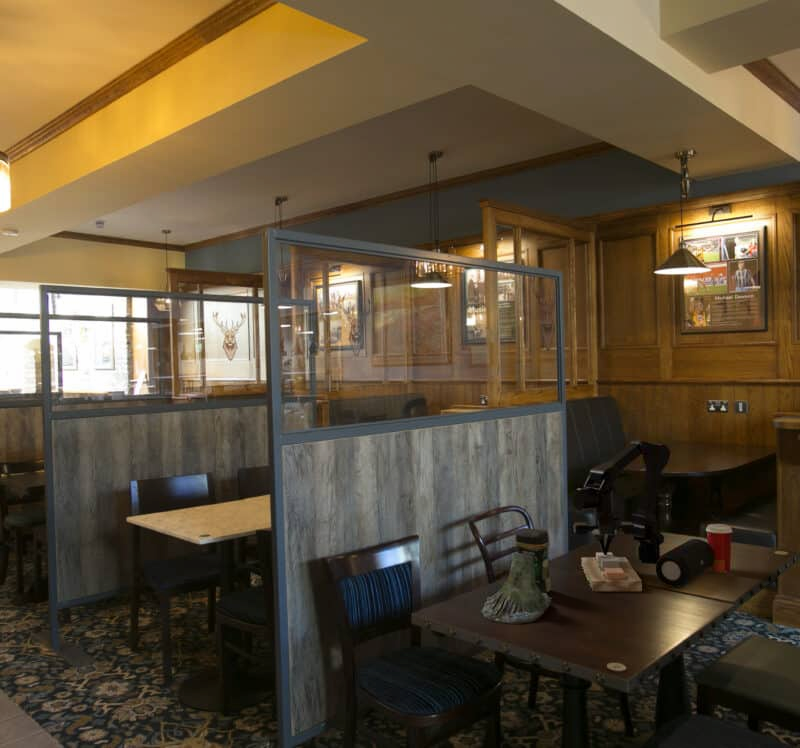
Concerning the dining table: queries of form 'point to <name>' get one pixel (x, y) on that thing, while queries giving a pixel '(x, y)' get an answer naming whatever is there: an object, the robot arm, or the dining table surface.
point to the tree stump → (518, 595)
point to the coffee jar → (536, 554)
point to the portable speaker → (684, 562)
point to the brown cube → (614, 574)
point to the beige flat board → (600, 584)
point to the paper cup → (720, 546)
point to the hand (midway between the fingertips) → (605, 554)
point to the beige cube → (602, 556)
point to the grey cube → (608, 562)
